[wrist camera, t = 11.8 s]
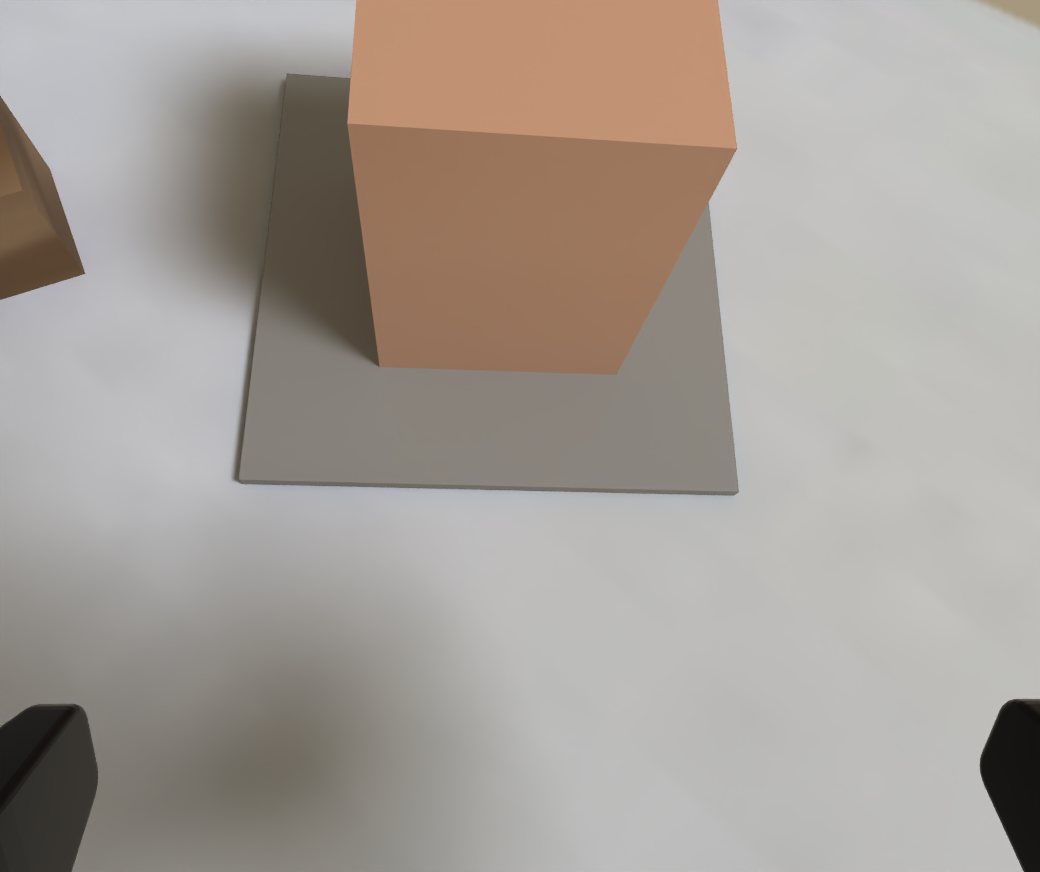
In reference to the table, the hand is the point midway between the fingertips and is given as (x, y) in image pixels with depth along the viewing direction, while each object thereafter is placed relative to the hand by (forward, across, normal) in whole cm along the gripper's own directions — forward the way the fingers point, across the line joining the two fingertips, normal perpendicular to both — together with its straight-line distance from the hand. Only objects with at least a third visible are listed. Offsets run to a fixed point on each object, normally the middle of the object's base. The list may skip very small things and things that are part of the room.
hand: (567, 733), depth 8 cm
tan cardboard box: (+19, 0, 0) cm, 19 cm away
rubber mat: (+19, 0, 0) cm, 19 cm away
